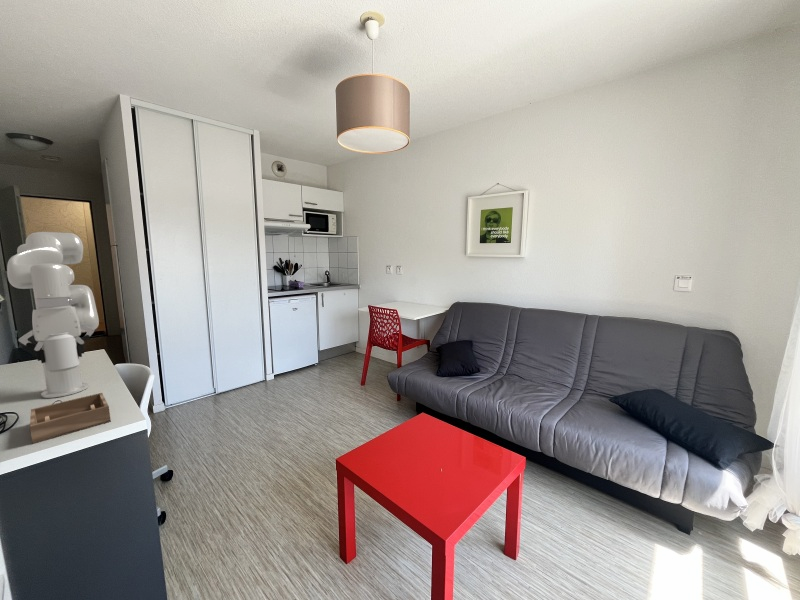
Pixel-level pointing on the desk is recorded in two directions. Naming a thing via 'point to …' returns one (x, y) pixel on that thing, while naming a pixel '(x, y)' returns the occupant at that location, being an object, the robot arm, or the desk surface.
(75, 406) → the walnut box
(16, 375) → the desk surface
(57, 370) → the can
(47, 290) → the robot arm
